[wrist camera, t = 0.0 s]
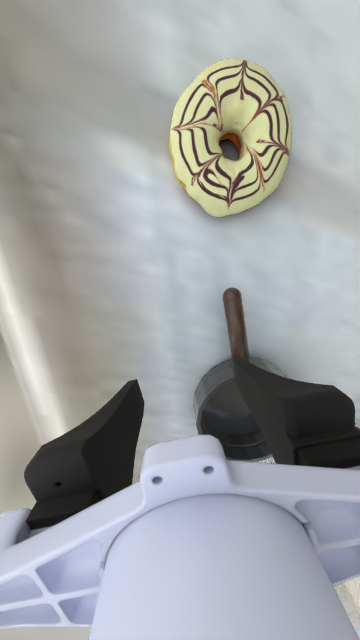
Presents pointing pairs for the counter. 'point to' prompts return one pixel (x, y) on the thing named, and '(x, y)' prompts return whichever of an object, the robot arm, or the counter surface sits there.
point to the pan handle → (236, 323)
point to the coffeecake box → (354, 591)
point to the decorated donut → (231, 137)
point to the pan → (230, 413)
